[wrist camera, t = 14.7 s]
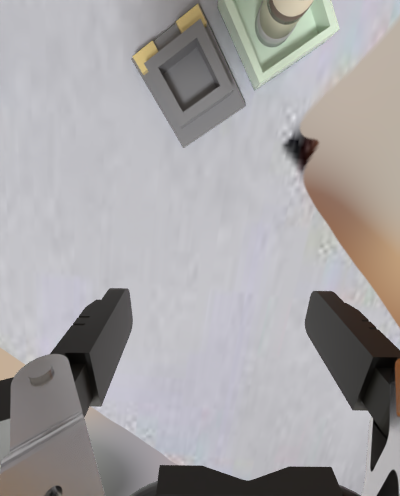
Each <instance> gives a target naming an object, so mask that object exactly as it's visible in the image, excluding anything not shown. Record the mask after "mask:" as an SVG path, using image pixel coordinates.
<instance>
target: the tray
mask: <svg viewBox="0 0 400 496" xmlns="http://www.w3.org/2000/svg"><path fill="white" fill-rule="evenodd" d="M262 1H263V0H218V9H219V11H220V14H221V16H222V18H223V20H224V23H225V25H226V27H227V29H228V32H229V34H230V36H231V38H232V41H233V43H234V45H235V48H236V50H237V52H238V54H239V57H240V59H241V61H242V63H243V66H244V68H245V70H246V72H247V75H248V77H249V79H250V81H251V84H252V86H253V88H254V90H256V89H258V88H259V87H260V86H262V85H263V84H265V83H266V82H268V81H269V80H271V79H272V78H274V77H275V76H276V75H278V74H279V73H281V72H282V71H284V70H285V69H287V68H288V67H290V66H291V65H293V64H294V63H295V62H297V61H298V60H300V59H301V58H303V57H304V56H306V55H307V54H309V53H310V52H311V51H313V50H314V49H316V48H317V47H319V46H320V45H322V44H323V43H325V42H326V41H327V40H328V39H329V38H330V37H331V36H333V35H334V34H335V33H336V32H337V31H338V30H339V25H338V22H337V19H336V15H335V12H334V9H333V5H332V2H331V0H314V1H313V3H312V4H311V6H310V7H309V9H308V10H307V11H306V13H305V14H304V15H303V16H302V17H301V19H300V20H299V21H298V23H297V25H296V27H295V28H294V30H293V31H292V33H291V34H290V35H289V37H288V38H287V39H286V41H285V42H284V43H282V44H281V45H279V46H277V47H267V46H265V45H263V44H262V43H261V42H260V41H259V39H258V38H257V35H256V32H255V20H256V16H257V13H258V11H259V8H260V6H261V3H262Z"/></svg>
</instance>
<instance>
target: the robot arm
mask: <svg viewBox="0 0 400 496" xmlns="http://www.w3.org/2000/svg"><path fill="white" fill-rule="evenodd" d="M132 322H133V318H132V309H131V301H130V293H129V290H128V289H122V288H110V289H109V290H108V291H107V293H106V294H105V295H104V297H103V298H102V300H95V301H94V302H93V303H91V304H90V305H88V306H87V307H86V308H85V309H84V310H83V312H82V313H81V314H80V315H79V318H77V319H76V321H75V322H74V323H73V325H72V326H71V327H70V329H69V330H68V331H67V332H66V334H65V335H64V336H63V338H62V339H61V340H60V342H59V343H58V344H57V346H56V347H55V348H54V349H53V351H52V352H51V353H50V354H49V355H45V356H42V357H39V358H37V359H35V360H33V361H31V362H29V363H28V364H26V365H25V366H24V367H23V368H21V369H20V370H19V372H18V373H17V374H16V375H15V376H14V377H13V378H9V379H5V380H1V381H0V465H1V467H0V496H105V493H104V490H103V486H102V482H101V478H100V475H99V471H98V467H97V464H96V460H95V456H94V453H93V449H92V445H91V442H90V438H89V434H88V431H87V427H86V423H85V419H84V417H85V415H86V413H87V411H88V408H89V406H102V403H103V401H104V398H105V396H106V393H107V391H108V388H109V386H110V383H111V381H112V378H113V376H114V373H115V370H116V368H117V365H118V363H119V360H120V358H121V355H122V353H123V350H124V348H125V345H126V343H127V340H128V338H129V335H130V333H131V329H132ZM305 328H306V332H307V334H308V336H309V338H310V340H311V341H312V343H313V345H314V346H315V348H316V350H317V351H318V353H319V355H320V356H321V358H322V360H323V361H324V363H325V365H326V366H327V368H328V370H329V371H330V373H331V375H332V376H333V378H334V380H335V381H336V383H337V385H338V386H339V388H340V390H341V391H342V393H343V395H344V396H345V398H346V400H347V401H348V403H349V405H350V406H351V408H352V410H368V411H369V413H370V414H371V416H372V417H371V419H370V422H369V430H368V444H367V457H366V471H365V480H364V486H363V490H362V493H361V495H359V494H357V493H356V492H354V491H352V490H349V489H347V488H345V487H343V486H341V485H339V484H338V482H337V479H336V477H335V475H334V472H333V470H332V468H331V467H287V468H284V469H281V470H279V471H276V472H273V473H270V474H267V475H265V476H262V477H259V478H256V479H254V480H250V481H246V480H242V479H239V478H236V477H233V476H230V475H227V474H224V473H221V472H219V471H216V470H213V469H210V468H207V467H204V466H178V465H175V466H174V465H173V466H172V465H171V466H169V465H160V468H159V475H158V481H156V482H154V483H151V484H149V485H147V486H145V487H143V488H141V489H139V490H138V491H136V492H135V493H133V494H132V495H130V496H400V350H399V349H398V348H397V347H396V346H395V345H394V344H393V343H392V342H391V341H390V340H389V339H387V338H386V337H385V336H384V335H383V334H382V333H381V332H380V331H379V330H377V329H376V327H375V326H374V325H373V324H372V323H371V322H369V321H368V319H367V318H366V317H365V316H364V315H363V314H362V313H361V312H360V311H359V310H357V309H355V308H354V307H352V306H350V305H349V304H347V303H344V302H343V301H342V300H341V299H340V298H339V297H338V296H337V295H336V294H335V293H334V292H332V291H313V292H312V294H311V296H310V301H309V305H308V310H307V314H306V319H305Z"/></svg>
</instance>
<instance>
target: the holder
mask: <svg viewBox="0 0 400 496" xmlns="http://www.w3.org/2000/svg"><path fill="white" fill-rule="evenodd" d="M132 61H133V63H134V64H135V66H136V68H137V69H138V71H139V73H140V75H141V76H142V78H143V80H144V81H145V83H146V85H147V87H148V88H149V90H150V92H151V93H152V95H153V97H154V99H155V100H156V102H157V104H158V105H159V107H160V109H161V111H162V112H163V114H164V116H165V117H166V119H167V121H168V123H169V124H170V126H171V128H172V129H173V131H174V133H175V135H176V136H177V138H178V140H179V141H180V143H181V145H182V146H183V148H185V147H186V146H188V145H189V144H190V143H192V142H193V141H195V140H196V139H198V138H199V137H201V136H202V135H204V134H205V133H207V132H208V131H210V130H211V129H213V128H214V127H216V126H217V125H219V124H220V123H222V122H223V121H224V120H226V119H227V118H229V117H230V116H232V115H233V114H235V113H236V112H238V111H239V110H241V109H242V108H244V107H245V106H246V104H245V102H244V100H243V98H242V96H241V93H240V91H239V89H238V87H237V85H236V83H235V80H234V78H233V76H232V74H231V72H230V70H229V67H228V65H227V63H226V61H225V59H224V57H223V55H222V52H221V50H220V48H219V46H218V44H217V42H216V39H215V37H214V35H213V33H212V31H211V29H210V26H209V24H208V22H207V20H206V18H205V16H204V13H203V11H202V9H201V7H200V5H198V4H197V5H196V6H194V7H193V8H192V9H191V10H189V11H188V12H187V13H186V14H184V15H183V16H182V17H181V18H179V19H178V20H177V21H176V23H175V24H174V25H173V26H172V27H170V28H169V29H168V30H167V31H165V32H164V33H163V34H162V35H160V36H159V37H158V38H157V39H156V40H154V41H151V42H150V43H149V44H147V45H146V46H145V47H144V48H143V49H141V50H140V51H139V52H138V53H136V54H135V55H134V56H133V58H132Z"/></svg>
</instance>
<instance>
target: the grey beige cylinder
mask: <svg viewBox="0 0 400 496" xmlns="http://www.w3.org/2000/svg"><path fill="white" fill-rule="evenodd" d="M313 1H314V0H263V1H262V3H261V6H260V8H259V11H258V13H257V16H256V20H255V32H256V35H257V38H258V39H259V41H260V42H261V43H262V44H263V45H265V46H267V47H277V46H279V45H281V44H282V43H284V42H285V41H286V39H287V38H288V37H289V35H290V34H291V33H292V31H293V30H294V28H295V27H296V25H297V23H298V21H299V20H300V19H301V17H302V16H303V15H304V14H305V13H306V11H307V10H308V9H309V7H310V6H311V4H312V3H313Z"/></svg>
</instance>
